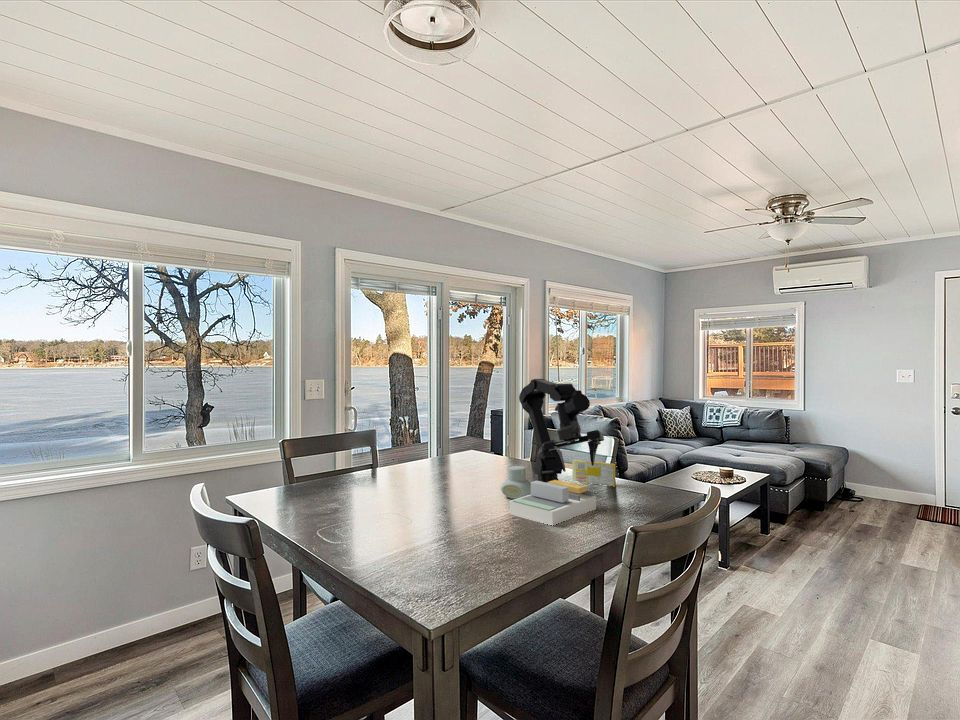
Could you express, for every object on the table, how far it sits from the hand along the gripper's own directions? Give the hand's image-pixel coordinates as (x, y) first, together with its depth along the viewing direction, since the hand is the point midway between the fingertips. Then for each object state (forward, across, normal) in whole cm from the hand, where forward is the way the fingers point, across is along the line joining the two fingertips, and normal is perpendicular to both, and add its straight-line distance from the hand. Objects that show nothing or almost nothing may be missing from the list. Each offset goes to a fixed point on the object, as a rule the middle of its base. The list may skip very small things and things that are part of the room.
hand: (578, 468), depth 159 cm
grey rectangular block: (+8, -9, -6) cm, 14 cm away
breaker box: (+12, -10, -3) cm, 15 cm away
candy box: (+2, -4, +34) cm, 35 cm away
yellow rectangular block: (+5, -5, +1) cm, 8 cm away
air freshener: (+4, -24, +7) cm, 26 cm away
